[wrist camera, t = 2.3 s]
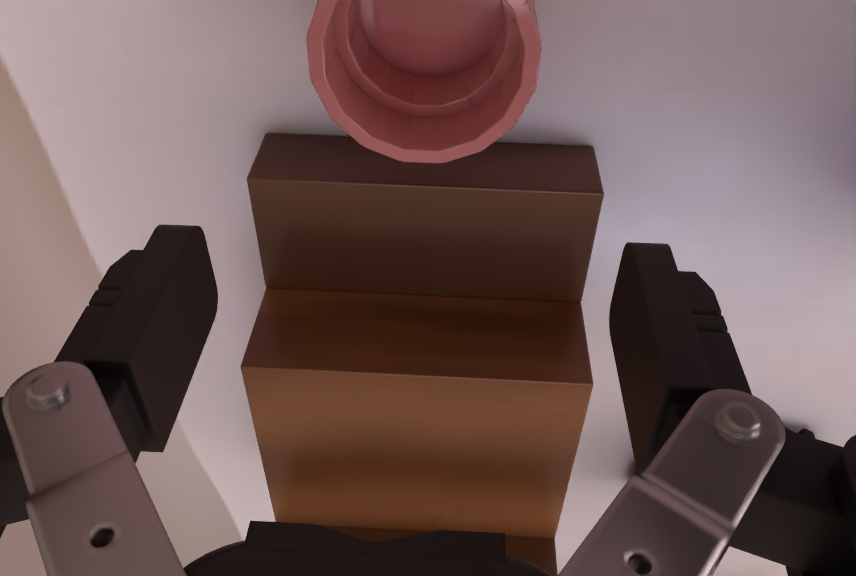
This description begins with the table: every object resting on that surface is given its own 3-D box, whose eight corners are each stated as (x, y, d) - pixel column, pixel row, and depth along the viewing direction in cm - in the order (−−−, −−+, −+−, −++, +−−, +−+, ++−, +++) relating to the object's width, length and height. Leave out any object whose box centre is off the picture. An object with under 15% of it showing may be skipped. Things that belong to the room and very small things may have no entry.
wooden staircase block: (265, 132, 27) (171, 350, 19) (594, 145, 27) (645, 374, 18) (313, 456, 40) (270, 667, 32) (532, 468, 40) (546, 684, 32)
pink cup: (325, -112, 21) (296, -64, 18) (542, -105, 21) (554, -55, 18) (339, 88, 26) (317, 159, 22) (520, 95, 25) (526, 167, 22)
